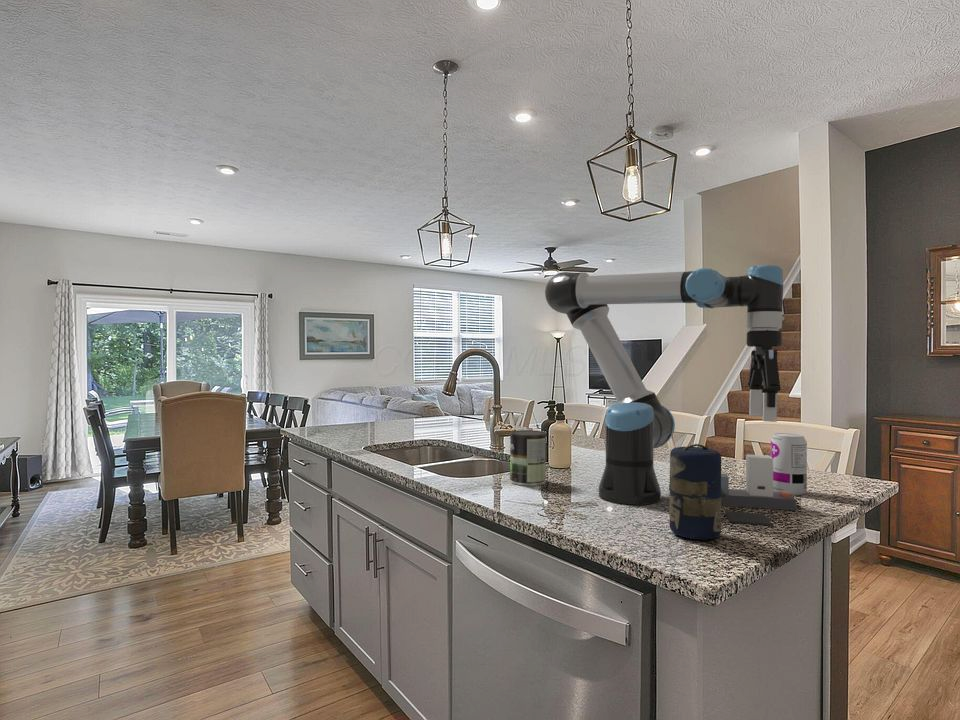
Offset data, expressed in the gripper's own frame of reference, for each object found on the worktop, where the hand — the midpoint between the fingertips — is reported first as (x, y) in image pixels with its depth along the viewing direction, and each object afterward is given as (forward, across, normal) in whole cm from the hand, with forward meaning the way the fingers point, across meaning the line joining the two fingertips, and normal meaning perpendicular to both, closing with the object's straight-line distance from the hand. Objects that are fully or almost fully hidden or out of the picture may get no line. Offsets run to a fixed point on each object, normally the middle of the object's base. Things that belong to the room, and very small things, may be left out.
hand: (762, 418), depth 130 cm
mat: (+20, -15, +6) cm, 26 cm away
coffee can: (+22, +8, +58) cm, 63 cm away
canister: (+21, -30, +18) cm, 41 cm away
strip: (+21, -3, +7) cm, 22 cm away
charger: (+19, -1, 0) cm, 19 cm away
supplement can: (+21, +14, -10) cm, 27 cm away
